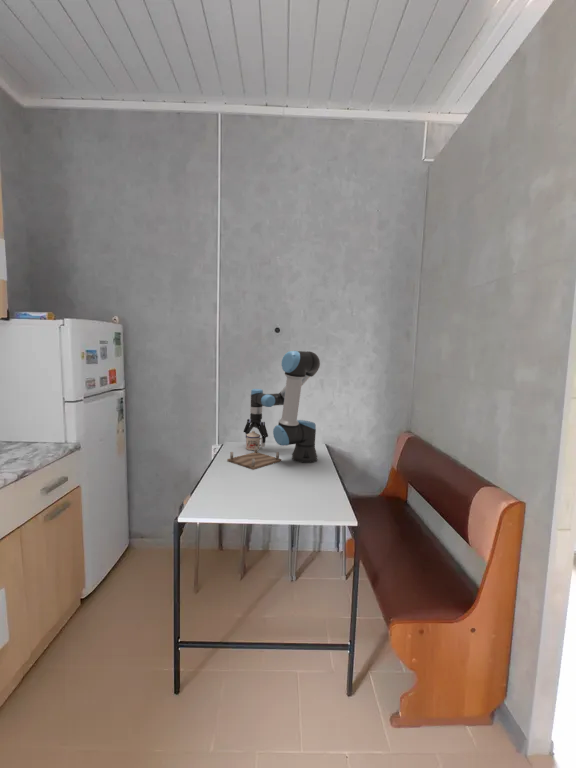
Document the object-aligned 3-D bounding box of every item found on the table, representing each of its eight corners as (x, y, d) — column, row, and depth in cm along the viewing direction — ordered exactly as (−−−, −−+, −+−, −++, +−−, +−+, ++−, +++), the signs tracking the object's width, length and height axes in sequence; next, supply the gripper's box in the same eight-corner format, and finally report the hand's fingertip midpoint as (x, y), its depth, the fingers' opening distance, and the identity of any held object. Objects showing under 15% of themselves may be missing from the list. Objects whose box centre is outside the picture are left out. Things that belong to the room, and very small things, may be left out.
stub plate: (281, 461, 227) (281, 452, 226) (253, 469, 209) (253, 460, 209) (256, 453, 240) (256, 445, 240) (227, 461, 223) (227, 452, 222)
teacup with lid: (244, 450, 247) (245, 432, 246) (246, 446, 256) (247, 429, 255) (263, 451, 247) (264, 433, 246) (264, 447, 256) (265, 430, 255)
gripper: (274, 415, 244) (273, 448, 246) (247, 409, 260) (246, 441, 262) (266, 416, 238) (265, 450, 240) (238, 410, 255) (237, 442, 257)
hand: (255, 445), depth 251 cm, fingers open, 13 cm apart
